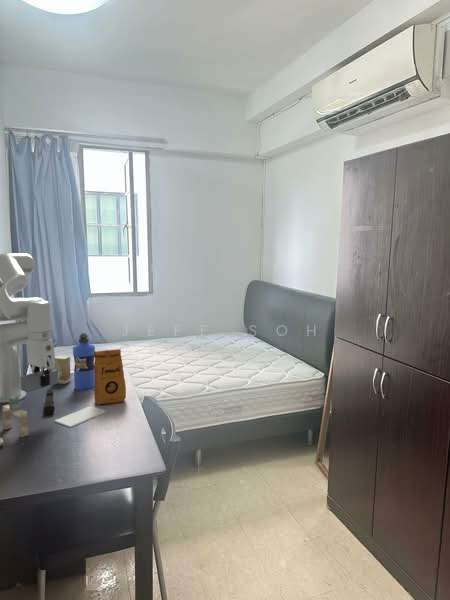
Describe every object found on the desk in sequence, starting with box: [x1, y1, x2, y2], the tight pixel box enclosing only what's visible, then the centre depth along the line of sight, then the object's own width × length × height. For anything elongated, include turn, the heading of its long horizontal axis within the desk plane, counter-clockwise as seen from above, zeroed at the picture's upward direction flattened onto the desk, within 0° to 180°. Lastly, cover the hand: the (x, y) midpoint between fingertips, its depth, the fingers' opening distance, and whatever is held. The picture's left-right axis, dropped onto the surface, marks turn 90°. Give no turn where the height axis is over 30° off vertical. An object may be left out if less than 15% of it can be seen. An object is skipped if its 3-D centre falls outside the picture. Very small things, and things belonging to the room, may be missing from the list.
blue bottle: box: [72, 333, 96, 392], centre depth 183 cm, size 9×9×25 cm
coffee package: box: [93, 348, 127, 405], centre depth 167 cm, size 10×12×22 cm
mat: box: [54, 406, 107, 428], centre depth 152 cm, size 9×16×1 cm, turn 148°
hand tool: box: [42, 388, 56, 416], centre depth 163 cm, size 19×4×5 cm, turn 19°
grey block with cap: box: [21, 369, 59, 394], centre depth 147 cm, size 4×13×5 cm, turn 148°
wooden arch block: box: [1, 396, 29, 438], centre depth 139 cm, size 12×2×12 cm, turn 58°
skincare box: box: [54, 355, 71, 385], centre depth 191 cm, size 6×4×12 cm
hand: (41, 383), depth 147 cm, fingers closed on grey block with cap, 4 cm apart
